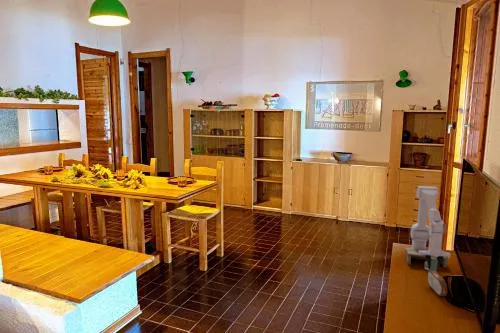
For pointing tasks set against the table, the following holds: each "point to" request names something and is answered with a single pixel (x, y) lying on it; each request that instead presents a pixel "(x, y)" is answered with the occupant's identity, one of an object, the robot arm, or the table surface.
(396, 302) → the table surface
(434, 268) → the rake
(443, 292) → the tin
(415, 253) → the grey bridge block
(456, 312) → the table surface
